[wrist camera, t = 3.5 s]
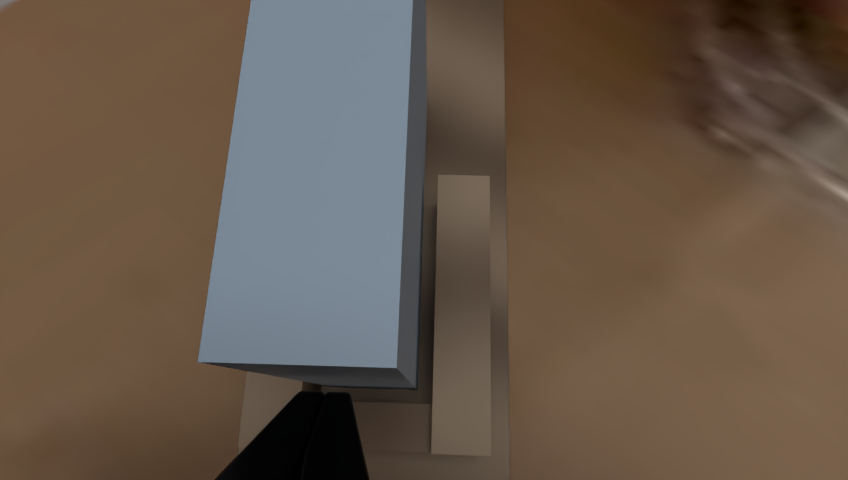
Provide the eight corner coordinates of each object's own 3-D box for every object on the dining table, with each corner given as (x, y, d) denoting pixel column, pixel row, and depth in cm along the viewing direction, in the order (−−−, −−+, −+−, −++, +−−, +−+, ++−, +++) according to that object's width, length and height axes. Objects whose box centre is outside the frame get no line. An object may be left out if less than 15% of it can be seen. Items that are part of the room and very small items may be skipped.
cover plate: (417, 389, 16) (396, 368, 7) (334, 387, 16) (197, 361, 7) (427, 96, 19) (422, -209, 10) (356, 94, 19) (282, -210, 10)
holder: (505, 496, 17) (524, 519, 13) (245, 486, 17) (197, 507, 13) (499, -76, 23) (510, -158, 20) (310, -78, 23) (289, -160, 20)
